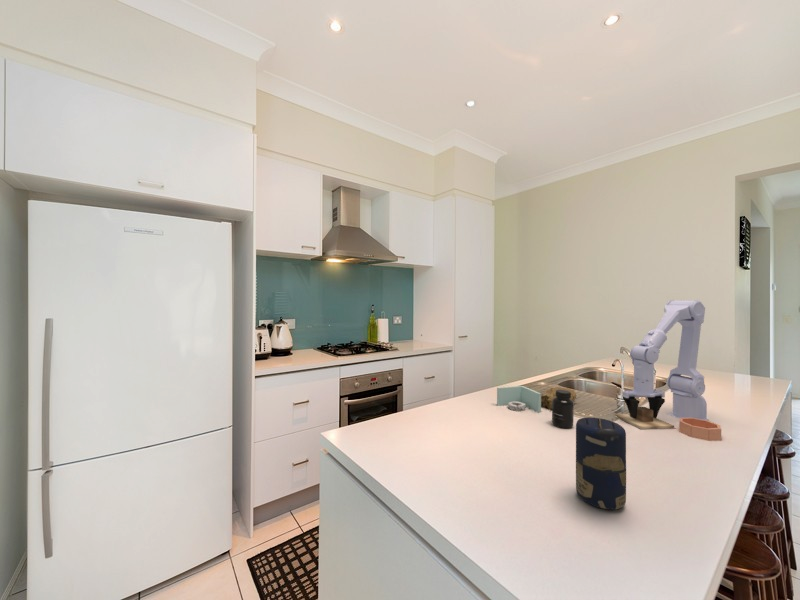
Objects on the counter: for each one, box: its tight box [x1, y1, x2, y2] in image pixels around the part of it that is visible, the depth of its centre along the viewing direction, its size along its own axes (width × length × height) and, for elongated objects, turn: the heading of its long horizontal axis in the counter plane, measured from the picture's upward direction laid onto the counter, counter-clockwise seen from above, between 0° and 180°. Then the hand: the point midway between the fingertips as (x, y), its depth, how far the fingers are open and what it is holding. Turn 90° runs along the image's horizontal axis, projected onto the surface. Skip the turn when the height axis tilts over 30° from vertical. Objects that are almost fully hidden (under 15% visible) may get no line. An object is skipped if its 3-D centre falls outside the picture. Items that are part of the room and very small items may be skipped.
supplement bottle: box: [551, 390, 575, 430], centre depth 116 cm, size 7×7×12 cm
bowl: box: [678, 418, 722, 442], centre depth 108 cm, size 10×10×4 cm
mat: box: [619, 419, 677, 431], centre depth 118 cm, size 13×13×1 cm
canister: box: [575, 416, 627, 510], centre depth 73 cm, size 10×10×18 cm
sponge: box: [541, 387, 577, 410], centre depth 140 cm, size 13×8×20 cm
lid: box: [614, 406, 675, 430], centre depth 118 cm, size 12×12×5 cm
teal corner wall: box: [496, 385, 542, 413], centre depth 133 cm, size 12×12×8 cm
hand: (643, 417), depth 118 cm, fingers open, 7 cm apart
